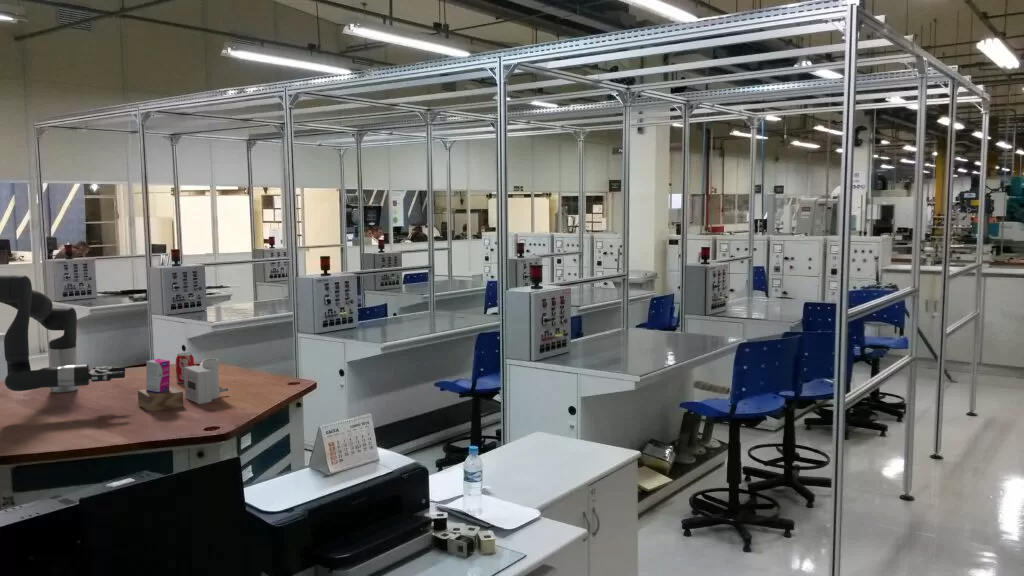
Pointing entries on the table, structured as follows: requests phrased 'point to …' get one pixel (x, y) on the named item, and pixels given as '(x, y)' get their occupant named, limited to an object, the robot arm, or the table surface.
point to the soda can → (183, 365)
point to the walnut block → (160, 399)
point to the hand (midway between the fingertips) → (125, 372)
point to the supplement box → (157, 375)
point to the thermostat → (203, 382)
